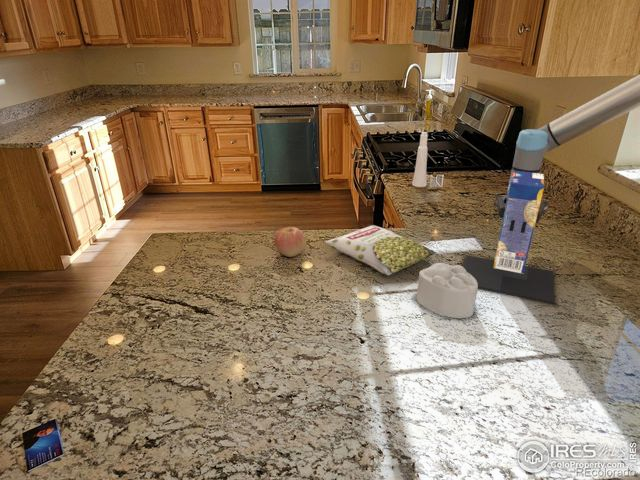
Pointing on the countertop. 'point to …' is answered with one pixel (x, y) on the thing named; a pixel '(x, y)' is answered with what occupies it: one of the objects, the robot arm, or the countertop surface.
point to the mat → (512, 280)
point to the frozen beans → (381, 249)
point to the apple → (289, 241)
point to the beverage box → (519, 220)
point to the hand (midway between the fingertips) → (517, 226)
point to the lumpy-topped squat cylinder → (447, 290)
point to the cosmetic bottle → (421, 163)
